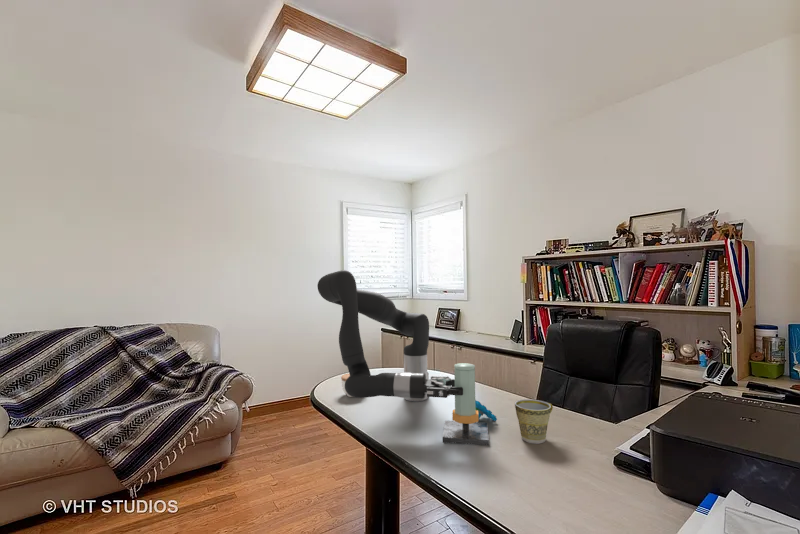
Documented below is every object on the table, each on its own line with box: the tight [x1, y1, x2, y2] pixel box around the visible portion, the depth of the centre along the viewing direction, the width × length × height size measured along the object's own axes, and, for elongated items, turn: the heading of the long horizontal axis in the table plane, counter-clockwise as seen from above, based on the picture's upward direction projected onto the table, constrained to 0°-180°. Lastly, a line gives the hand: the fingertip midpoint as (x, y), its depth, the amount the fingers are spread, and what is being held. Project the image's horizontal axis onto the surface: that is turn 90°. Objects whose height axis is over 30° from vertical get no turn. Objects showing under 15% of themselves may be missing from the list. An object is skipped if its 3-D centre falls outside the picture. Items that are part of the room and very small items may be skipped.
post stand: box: [442, 420, 490, 446], centre depth 117 cm, size 13×13×18 cm
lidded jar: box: [340, 372, 353, 398], centre depth 158 cm, size 11×11×9 cm
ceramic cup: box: [514, 398, 554, 445], centre depth 115 cm, size 13×10×10 cm
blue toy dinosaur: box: [475, 399, 498, 422], centre depth 128 cm, size 11×6×10 cm
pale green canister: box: [454, 362, 476, 416], centre depth 117 cm, size 6×6×14 cm
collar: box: [451, 408, 480, 424], centre depth 117 cm, size 8×8×2 cm
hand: (463, 387), depth 118 cm, fingers open, 8 cm apart
